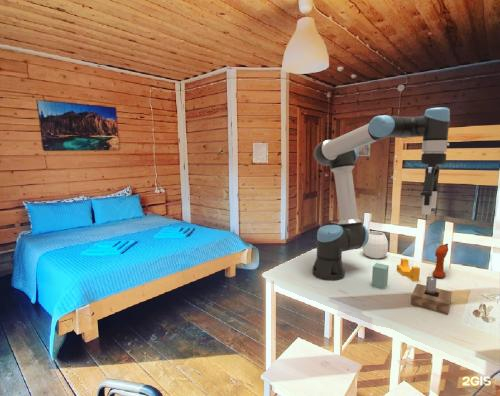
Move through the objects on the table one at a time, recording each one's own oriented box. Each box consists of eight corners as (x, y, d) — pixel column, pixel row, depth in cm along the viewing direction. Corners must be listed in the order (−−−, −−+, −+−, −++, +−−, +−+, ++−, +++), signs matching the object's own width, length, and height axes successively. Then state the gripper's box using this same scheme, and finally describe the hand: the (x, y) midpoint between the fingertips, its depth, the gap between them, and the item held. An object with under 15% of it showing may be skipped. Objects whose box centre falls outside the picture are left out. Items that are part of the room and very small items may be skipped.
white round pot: (386, 253, 168) (387, 231, 165) (388, 261, 155) (390, 237, 153) (362, 251, 172) (363, 229, 170) (362, 258, 160) (363, 235, 158)
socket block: (410, 304, 112) (411, 294, 112) (416, 292, 122) (416, 283, 121) (448, 314, 105) (449, 304, 104) (450, 301, 114) (451, 291, 114)
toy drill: (450, 268, 146) (453, 239, 144) (443, 280, 133) (446, 248, 130) (439, 265, 149) (441, 237, 147) (430, 277, 136) (433, 246, 134)
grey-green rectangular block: (371, 285, 128) (372, 266, 127) (375, 281, 132) (376, 262, 131) (384, 289, 125) (385, 269, 124) (387, 284, 129) (388, 265, 128)
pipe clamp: (396, 270, 144) (397, 258, 143) (405, 270, 144) (406, 258, 143) (409, 281, 132) (410, 268, 131) (418, 281, 132) (419, 268, 131)
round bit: (424, 302, 113) (426, 278, 112) (425, 299, 116) (427, 275, 114) (433, 305, 111) (436, 280, 110) (434, 301, 114) (437, 277, 112)
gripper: (442, 153, 92) (436, 218, 95) (449, 152, 111) (444, 206, 114) (415, 153, 96) (411, 215, 100) (426, 152, 116) (422, 204, 119)
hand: (428, 211), depth 107 cm, fingers open, 13 cm apart
